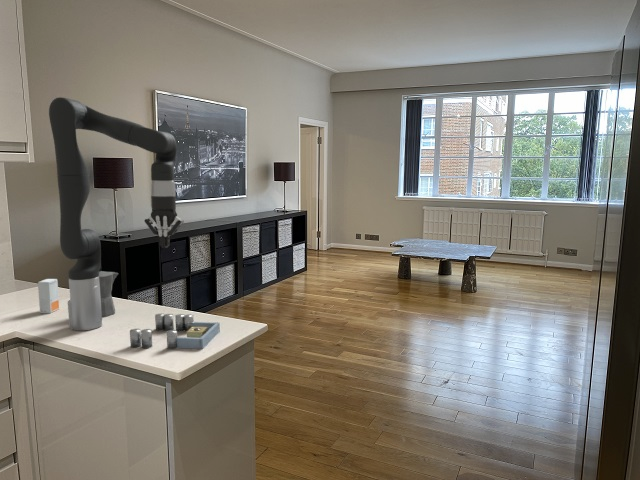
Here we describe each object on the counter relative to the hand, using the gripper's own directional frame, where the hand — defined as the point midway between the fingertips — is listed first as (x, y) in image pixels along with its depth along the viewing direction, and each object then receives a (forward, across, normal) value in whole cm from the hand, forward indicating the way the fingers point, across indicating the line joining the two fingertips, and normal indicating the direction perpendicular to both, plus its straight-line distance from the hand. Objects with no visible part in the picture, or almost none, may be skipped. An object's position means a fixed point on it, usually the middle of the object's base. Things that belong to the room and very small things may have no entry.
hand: (164, 247), depth 157 cm
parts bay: (+27, +14, -8) cm, 32 cm away
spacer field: (+28, +3, -9) cm, 29 cm away
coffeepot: (+28, -32, +13) cm, 45 cm away
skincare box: (+29, -53, +14) cm, 62 cm away
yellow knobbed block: (+28, +14, -9) cm, 32 cm away
